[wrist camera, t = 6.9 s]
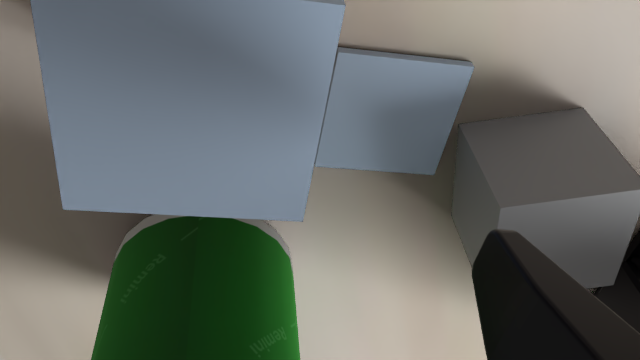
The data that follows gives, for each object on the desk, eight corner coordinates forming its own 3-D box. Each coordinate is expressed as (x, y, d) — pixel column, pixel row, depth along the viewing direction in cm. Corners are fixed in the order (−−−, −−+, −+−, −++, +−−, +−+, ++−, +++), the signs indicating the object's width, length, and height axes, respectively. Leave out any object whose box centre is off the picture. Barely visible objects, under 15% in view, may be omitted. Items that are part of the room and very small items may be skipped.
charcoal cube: (582, 106, 23) (649, 188, 19) (559, 199, 26) (613, 285, 22) (458, 122, 23) (500, 208, 19) (450, 213, 26) (485, 302, 22)
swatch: (471, 61, 21) (474, 67, 21) (431, 169, 24) (434, 175, 24) (336, 46, 20) (338, 52, 20) (313, 160, 23) (314, 166, 23)
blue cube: (317, -82, 13) (345, 5, 10) (289, 101, 17) (302, 221, 13) (91, -114, 13) (25, -33, 9) (107, 85, 16) (62, 209, 12)
